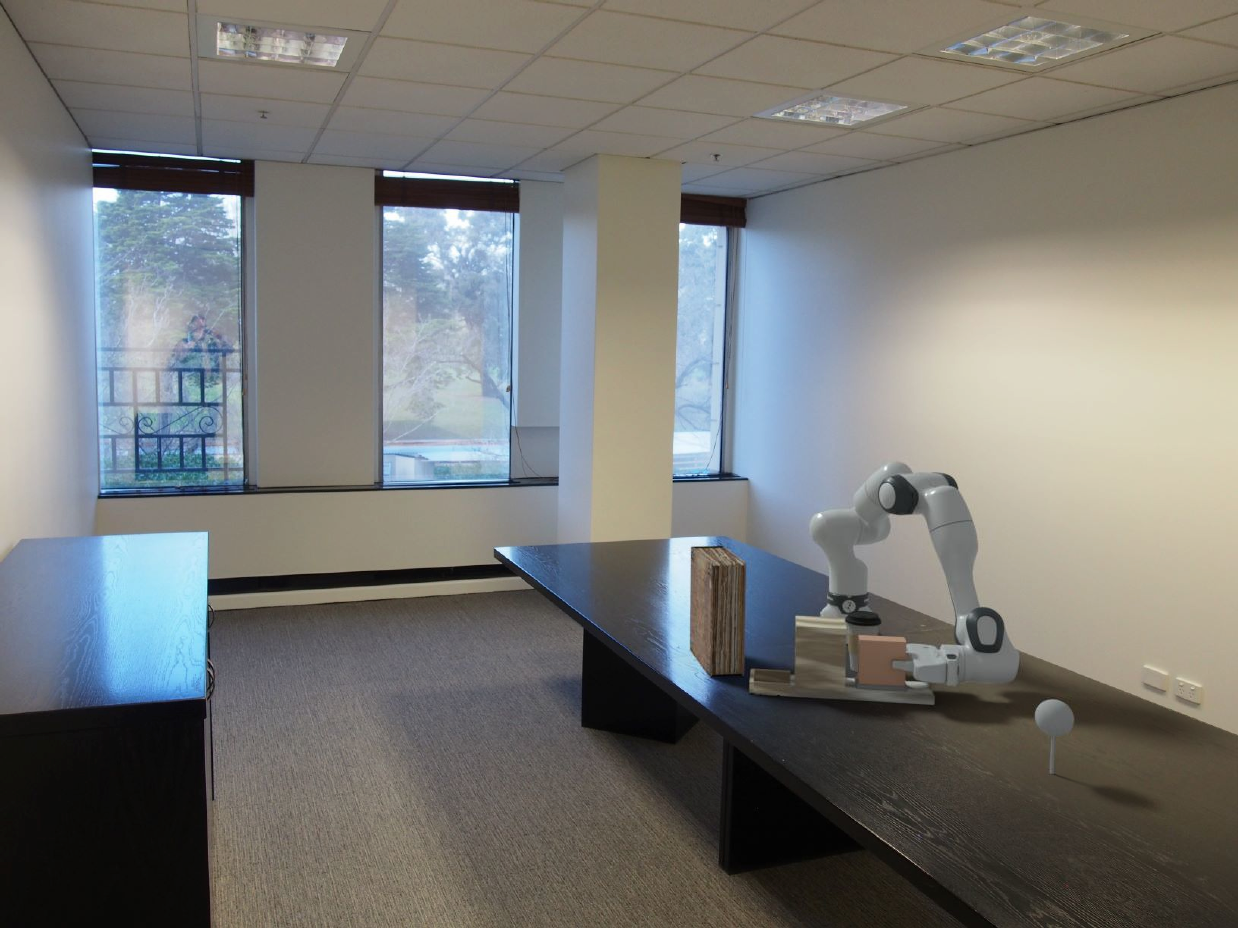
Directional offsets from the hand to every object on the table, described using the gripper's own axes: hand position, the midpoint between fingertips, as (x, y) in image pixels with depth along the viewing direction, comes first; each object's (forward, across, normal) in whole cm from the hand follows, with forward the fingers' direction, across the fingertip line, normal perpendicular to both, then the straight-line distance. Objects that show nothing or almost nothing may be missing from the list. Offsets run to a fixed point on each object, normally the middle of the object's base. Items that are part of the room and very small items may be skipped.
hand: (890, 659), depth 242 cm
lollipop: (-27, +43, +9) cm, 52 cm away
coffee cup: (+5, -20, +9) cm, 23 cm away
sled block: (+2, 0, +7) cm, 7 cm away
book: (+44, -19, +9) cm, 49 cm away
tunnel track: (+12, 0, +9) cm, 15 cm away
